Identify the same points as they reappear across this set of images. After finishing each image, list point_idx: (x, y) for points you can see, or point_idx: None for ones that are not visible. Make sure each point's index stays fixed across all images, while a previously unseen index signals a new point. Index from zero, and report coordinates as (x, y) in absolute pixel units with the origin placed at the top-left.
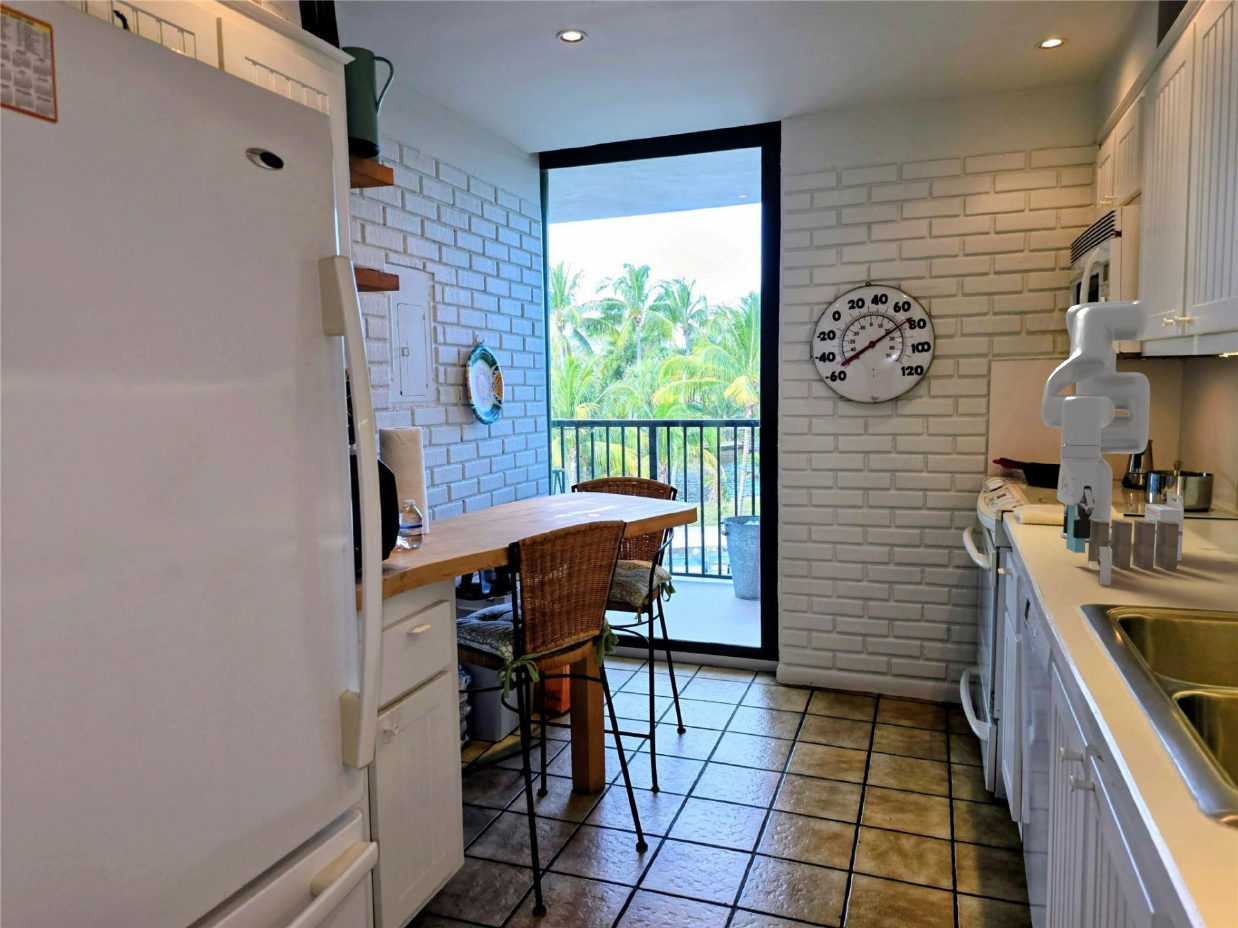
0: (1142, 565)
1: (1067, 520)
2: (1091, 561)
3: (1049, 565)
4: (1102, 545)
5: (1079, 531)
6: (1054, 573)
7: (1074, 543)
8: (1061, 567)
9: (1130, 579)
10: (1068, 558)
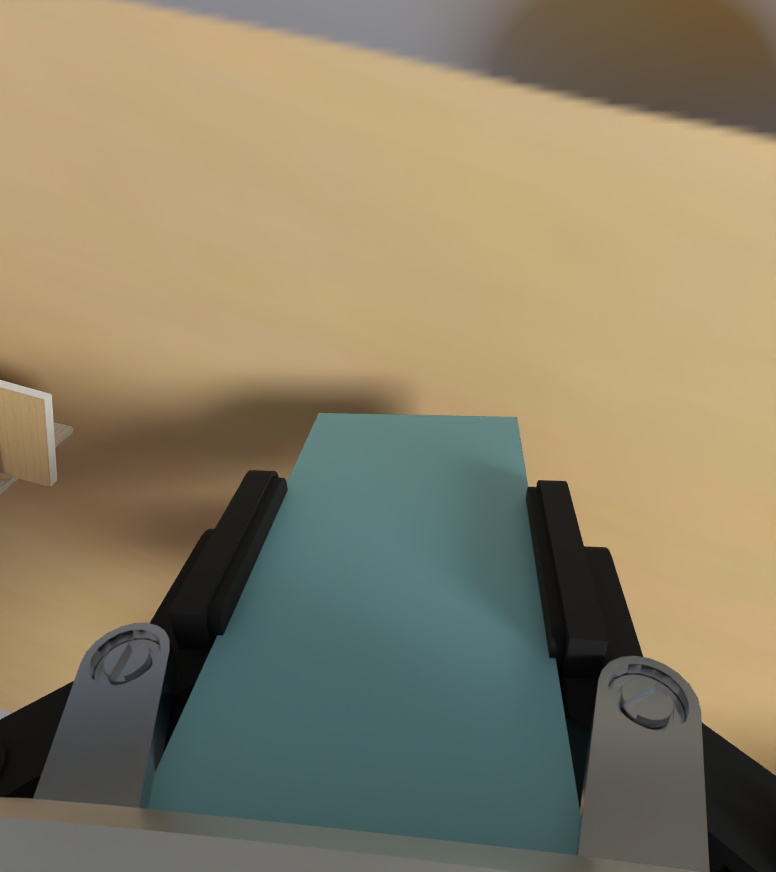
0: None
1: (542, 610)
2: (31, 410)
3: (407, 211)
4: None
5: (198, 544)
6: (108, 152)
7: (320, 453)
8: (347, 281)
9: (115, 528)
10: (682, 439)
